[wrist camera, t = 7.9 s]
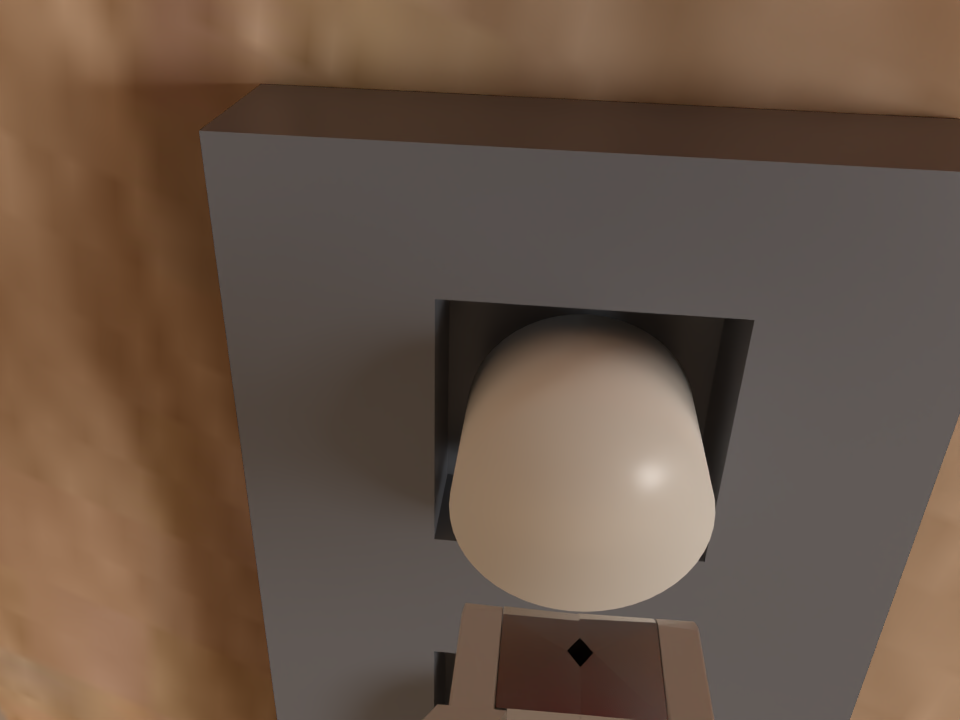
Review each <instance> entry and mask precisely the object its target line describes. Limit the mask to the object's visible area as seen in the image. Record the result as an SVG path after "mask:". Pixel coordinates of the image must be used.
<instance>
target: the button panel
mask: <svg viewBox="0 0 960 720" xmlns="http://www.w3.org/2000/svg"><path fill="white" fill-rule="evenodd" d="M199 135H200V143H201V150H202V158H203V165H204V173H205V180H206V188H207V195H208V203H209V210H210V218H211V225H212V233H213V240H214V248H215V255H216V263H217V270H218V278H219V285H220V293H221V301H222V308H223V316H224V323H225V331H226V338H227V346H228V353H229V361H230V368H231V376H232V383H233V391H234V398H235V406H236V413H237V421H238V428H239V436H240V443H241V451H242V458H243V466H244V474H245V481H246V489H247V496H248V504H249V511H250V519H251V526H252V534H253V541H254V549H255V556H256V564H257V571H258V579H259V586H260V594H261V601H262V609H263V616H264V624H265V632H266V639H267V647H268V654H269V662H270V669H271V677H272V684H273V692H274V699H275V707H276V714H277V720H423V719H424V718H425V717H426V716H427V715H428V714H429V713H430V712H431V711H432V709H433V708H434V707H435V706H436V705H437V704H439V705H449V700H450V693H451V686H452V679H453V672H454V665H455V658H456V651H457V644H458V637H459V630H460V623H461V616H462V611H463V608H464V605H465V603H471V604H480V605H490V606H499V607H503V612H504V606H507V607H516V608H526V609H535V610H545V611H554V612H564V613H573V614H578V613H580V614H594V615H608V616H622V617H637V618H651V619H654V620H655V619H665V620H679V621H693V622H695V624H696V625H697V627H698V629H699V634H700V640H701V646H702V652H703V657H704V663H705V669H706V675H707V681H708V686H709V692H710V698H711V704H712V710H713V715H714V720H850V718H851V715H852V712H853V709H854V706H855V704H856V701H857V698H858V695H859V693H860V690H861V687H862V684H863V681H864V679H865V676H866V673H867V670H868V668H869V665H870V662H871V659H872V656H873V654H874V651H875V648H876V645H877V642H878V640H879V637H880V634H881V631H882V629H883V626H884V623H885V620H886V617H887V615H888V612H889V609H890V606H891V604H892V601H893V598H894V595H895V592H896V590H897V587H898V584H899V581H900V578H901V576H902V573H903V570H904V567H905V565H906V562H907V559H908V556H909V553H910V551H911V548H912V545H913V542H914V540H915V537H916V534H917V531H918V528H919V526H920V523H921V520H922V517H923V514H924V512H925V509H926V506H927V503H928V501H929V498H930V495H931V492H932V489H933V487H934V484H935V481H936V478H937V476H938V473H939V470H940V467H941V464H942V462H943V459H944V456H945V453H946V450H947V448H948V445H949V442H950V439H951V437H952V434H953V431H954V428H955V425H956V423H957V420H958V417H959V414H960V119H949V118H929V117H909V116H889V115H869V114H849V113H829V112H809V111H789V110H769V109H750V108H730V107H710V106H690V105H670V104H650V103H630V102H610V101H590V100H570V99H550V98H530V97H510V96H491V95H471V94H451V93H431V92H411V91H391V90H371V89H351V88H331V87H311V86H291V85H271V84H260V85H259V86H258V87H256V88H255V89H254V90H252V91H251V92H250V93H248V94H247V95H246V96H244V97H243V98H242V99H240V100H239V101H238V102H236V103H235V104H234V105H232V106H231V107H230V108H228V109H227V110H226V111H224V112H223V113H222V114H221V115H219V116H218V117H217V118H215V119H214V120H213V121H211V122H210V123H209V124H207V125H206V126H205V127H203V128H202V129H201V130H199ZM573 314H582V315H597V316H605V317H609V318H613V319H617V320H621V321H623V322H626V323H628V324H631V325H634V326H636V327H638V328H640V329H641V330H643V331H645V332H647V333H649V334H650V335H651V336H653V337H654V338H656V339H657V340H658V341H660V342H661V343H662V344H663V345H664V346H665V347H666V348H667V349H668V350H669V351H670V352H671V353H672V354H673V356H674V357H675V358H676V359H677V360H678V362H679V363H680V365H681V367H682V369H683V370H684V372H685V374H686V377H687V379H688V382H689V384H690V388H691V392H692V397H693V401H694V406H695V410H696V415H697V420H698V424H699V429H700V434H701V438H702V443H703V447H704V452H705V457H706V461H707V466H708V471H709V475H710V480H711V484H712V489H713V494H714V498H715V521H714V528H713V531H712V534H711V538H710V541H709V543H708V545H707V547H706V549H705V551H704V553H703V554H702V556H701V557H700V559H699V560H698V562H697V563H696V564H695V565H694V567H693V568H692V569H691V570H690V571H689V572H688V573H687V574H686V575H685V576H684V577H683V578H681V579H680V580H679V581H678V582H677V583H675V584H674V585H673V586H671V587H669V588H668V589H666V590H665V591H663V592H662V593H660V594H658V595H656V596H654V597H652V598H650V599H647V600H645V601H642V602H639V603H636V604H634V605H630V606H626V607H622V608H618V609H611V610H605V611H591V612H580V611H565V610H558V609H552V608H548V607H543V606H539V605H536V604H533V603H530V602H527V601H524V600H522V599H520V598H518V597H515V596H513V595H511V594H509V593H507V592H506V591H504V590H502V589H500V588H499V587H497V586H496V585H494V584H493V583H492V582H490V581H489V580H488V579H486V578H485V577H484V576H483V575H482V574H481V573H480V572H479V571H478V570H477V569H476V568H475V567H474V566H473V565H472V564H471V563H470V561H469V560H468V559H467V558H466V556H465V555H464V553H463V551H462V550H461V548H460V546H459V545H458V542H457V540H456V537H455V535H454V533H453V529H452V525H451V521H450V511H449V501H450V491H451V486H452V481H453V476H454V470H455V465H456V460H457V455H458V450H459V444H460V439H461V434H462V429H463V424H464V418H465V413H466V408H467V403H468V398H469V393H470V389H471V385H472V382H473V379H474V377H475V375H476V372H477V370H478V368H479V367H480V365H481V364H482V362H483V360H484V359H485V358H486V357H487V355H488V354H489V353H490V352H491V351H492V349H493V348H495V347H496V346H497V345H498V344H499V343H500V342H501V341H502V340H503V339H505V338H506V337H508V336H509V335H511V334H512V333H514V332H515V331H517V330H519V329H521V328H523V327H525V326H527V325H529V324H532V323H535V322H538V321H540V320H543V319H548V318H552V317H556V316H564V315H573Z"/></svg>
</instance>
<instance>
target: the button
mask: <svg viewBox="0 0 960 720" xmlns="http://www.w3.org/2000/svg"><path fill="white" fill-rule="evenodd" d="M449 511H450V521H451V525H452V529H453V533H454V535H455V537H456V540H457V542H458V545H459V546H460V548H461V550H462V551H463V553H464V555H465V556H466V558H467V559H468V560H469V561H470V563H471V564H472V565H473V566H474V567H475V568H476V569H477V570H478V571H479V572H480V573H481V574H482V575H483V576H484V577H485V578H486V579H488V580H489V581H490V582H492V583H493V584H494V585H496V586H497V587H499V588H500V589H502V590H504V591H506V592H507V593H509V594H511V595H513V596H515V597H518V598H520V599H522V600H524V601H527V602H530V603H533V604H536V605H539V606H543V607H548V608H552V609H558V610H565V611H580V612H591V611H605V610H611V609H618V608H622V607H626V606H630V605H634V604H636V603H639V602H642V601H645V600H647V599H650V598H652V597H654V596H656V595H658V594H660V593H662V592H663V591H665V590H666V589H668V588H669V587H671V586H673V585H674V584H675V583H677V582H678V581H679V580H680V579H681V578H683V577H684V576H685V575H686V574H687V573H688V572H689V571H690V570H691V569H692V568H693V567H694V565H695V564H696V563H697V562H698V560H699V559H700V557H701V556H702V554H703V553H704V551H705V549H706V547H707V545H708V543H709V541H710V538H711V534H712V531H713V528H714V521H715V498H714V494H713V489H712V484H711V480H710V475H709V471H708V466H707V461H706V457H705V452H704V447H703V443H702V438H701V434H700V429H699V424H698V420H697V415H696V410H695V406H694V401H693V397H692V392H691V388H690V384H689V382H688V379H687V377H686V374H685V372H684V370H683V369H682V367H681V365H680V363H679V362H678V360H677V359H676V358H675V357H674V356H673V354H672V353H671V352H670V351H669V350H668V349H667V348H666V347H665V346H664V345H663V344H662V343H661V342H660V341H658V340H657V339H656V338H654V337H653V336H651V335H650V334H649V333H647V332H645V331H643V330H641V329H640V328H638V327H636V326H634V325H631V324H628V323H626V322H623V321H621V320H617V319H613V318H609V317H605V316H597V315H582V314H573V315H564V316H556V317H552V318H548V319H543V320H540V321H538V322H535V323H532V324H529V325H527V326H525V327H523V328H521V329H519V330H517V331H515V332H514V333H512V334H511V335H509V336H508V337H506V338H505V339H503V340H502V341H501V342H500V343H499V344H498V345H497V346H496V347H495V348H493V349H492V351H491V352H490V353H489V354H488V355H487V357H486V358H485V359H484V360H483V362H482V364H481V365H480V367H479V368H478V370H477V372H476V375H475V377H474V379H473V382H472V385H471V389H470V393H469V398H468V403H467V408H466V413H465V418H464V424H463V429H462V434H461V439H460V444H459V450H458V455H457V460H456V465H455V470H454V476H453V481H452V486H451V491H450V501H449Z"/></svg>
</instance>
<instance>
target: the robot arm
mask: <svg viewBox="0 0 960 720" xmlns="http://www.w3.org/2000/svg"><path fill="white" fill-rule="evenodd" d="M423 720H714V715H713V710H712V704H711V698H710V692H709V686H708V681H707V675H706V669H705V663H704V657H703V652H702V646H701V640H700V634H699V629H698V627H697V625H696V624H695V622H693V621H679V620H665V619H655V620H654V619H651V618H637V617H622V616H608V615H594V614H580V613H578V614H573V613H564V612H554V611H545V610H535V609H526V608H516V607H507V606H504V612H503V607H499V606H490V605H480V604H471V603H465V605H464V608H463V611H462V616H461V623H460V630H459V637H458V644H457V651H456V658H455V665H454V672H453V679H452V686H451V693H450V700H449V705H439V704H437V705H436V706H435V707H434V708H433V709H432V711H431V712H430V713H429V714H428V715H427V716H426V717H425V718H424V719H423Z"/></svg>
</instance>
